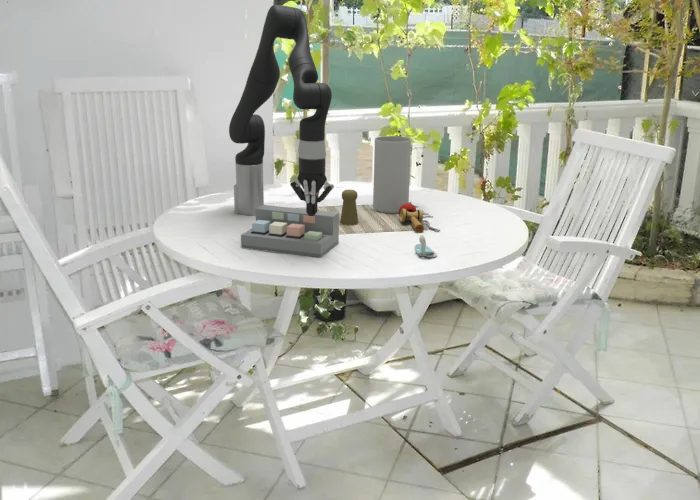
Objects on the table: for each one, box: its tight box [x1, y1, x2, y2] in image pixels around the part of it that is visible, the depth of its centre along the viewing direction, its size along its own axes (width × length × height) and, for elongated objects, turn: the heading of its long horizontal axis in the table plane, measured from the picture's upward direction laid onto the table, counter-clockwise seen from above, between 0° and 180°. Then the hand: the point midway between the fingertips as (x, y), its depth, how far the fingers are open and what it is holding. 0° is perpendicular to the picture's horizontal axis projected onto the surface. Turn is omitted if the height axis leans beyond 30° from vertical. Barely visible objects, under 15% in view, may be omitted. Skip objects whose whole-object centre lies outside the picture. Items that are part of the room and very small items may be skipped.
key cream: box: [269, 222, 287, 237], centre depth 222 cm, size 4×4×4 cm
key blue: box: [251, 220, 270, 235], centre depth 223 cm, size 4×4×4 cm
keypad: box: [240, 204, 340, 259], centre depth 223 cm, size 25×15×10 cm, turn 71°
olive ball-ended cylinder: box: [339, 189, 359, 226], centre depth 248 cm, size 6×6×11 cm
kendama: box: [398, 202, 425, 233], centre depth 248 cm, size 8×6×18 cm
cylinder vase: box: [372, 135, 412, 214], centre depth 263 cm, size 12×12×25 cm
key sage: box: [304, 231, 322, 241], centre depth 219 cm, size 4×4×4 cm
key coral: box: [287, 224, 305, 239], centre depth 220 cm, size 4×4×4 cm
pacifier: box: [414, 234, 438, 258], centre depth 217 cm, size 7×6×6 cm
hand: (311, 215), depth 217 cm, fingers closed
